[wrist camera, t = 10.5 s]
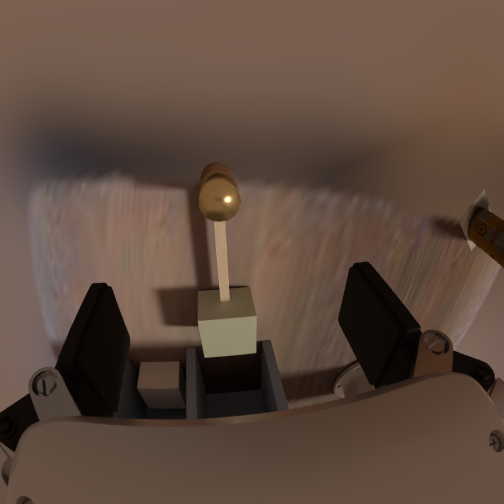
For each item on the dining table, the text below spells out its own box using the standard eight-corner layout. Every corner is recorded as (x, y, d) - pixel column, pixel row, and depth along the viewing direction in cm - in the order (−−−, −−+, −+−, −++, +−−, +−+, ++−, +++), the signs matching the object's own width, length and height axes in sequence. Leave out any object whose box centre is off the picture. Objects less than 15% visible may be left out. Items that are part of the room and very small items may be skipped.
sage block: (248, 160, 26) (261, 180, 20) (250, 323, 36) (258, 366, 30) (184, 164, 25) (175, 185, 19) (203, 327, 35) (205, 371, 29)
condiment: (470, 250, 37) (516, 290, 27) (458, 221, 33) (513, 263, 23) (493, 220, 35) (540, 255, 24) (482, 188, 31) (538, 222, 21)
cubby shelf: (270, 340, 38) (294, 429, 26) (267, 391, 45) (283, 462, 33) (117, 349, 36) (100, 435, 24) (143, 398, 43) (138, 469, 31)
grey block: (179, 360, 38) (178, 388, 34) (186, 382, 41) (186, 408, 37) (140, 361, 38) (136, 388, 33) (150, 383, 41) (148, 408, 36)
